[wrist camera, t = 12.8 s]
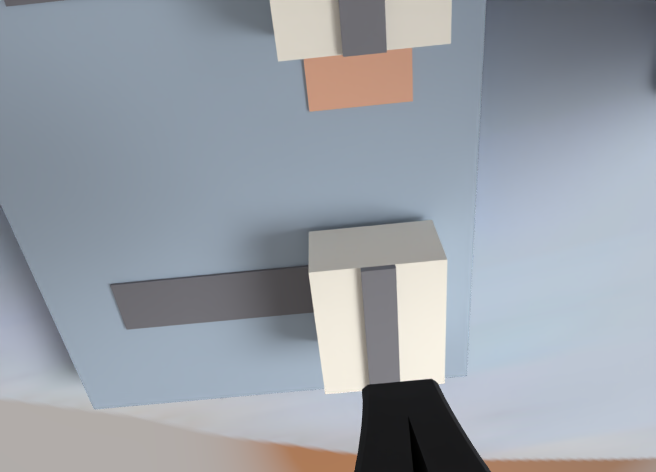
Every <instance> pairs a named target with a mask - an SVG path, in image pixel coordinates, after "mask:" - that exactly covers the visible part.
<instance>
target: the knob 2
mask: <svg viewBox="0 0 656 472" xmlns="http://www.w3.org/2000/svg"><path fill="white" fill-rule="evenodd" d="M309 280H310V287H311V294H312V302H313V309H314V316H315V323H316V331H317V338H318V345H319V353H320V360H321V367H322V374H323V382H324V389H325V394H334V393H345V392H356V391H362V389H363V388H364V387H365V386H367V385H369V384H379V383H390V382H401V381H412V380H422V379H433V380H435V381H436V382H437V383H438V384H445V346H446V302H447V257H446V254H445V252H444V249H443V247H442V244H441V242H440V239H439V236H438V234H437V231H436V229H435V226H434V223H433V221H432V220H425V221H415V222H404V223H394V224H383V225H373V226H363V227H352V228H342V229H332V230H321V231H311V232H309Z"/></svg>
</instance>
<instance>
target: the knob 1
mask: <svg viewBox="0 0 656 472" xmlns="http://www.w3.org/2000/svg"><path fill="white" fill-rule="evenodd" d="M270 7H271V14H272V21H273V29H274V36H275V43H276V50H277V57H278V62H279V61H289V60H298V59H308V58H318V57H327V56H337V55H343V57H348V56H358V55H367V54H377V53H387V50H395V49H404V48H414V47H424V46H433V45H443V44H451V17H452V0H270Z"/></svg>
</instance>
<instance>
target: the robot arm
mask: <svg viewBox="0 0 656 472" xmlns="http://www.w3.org/2000/svg"><path fill="white" fill-rule="evenodd" d="M362 397H363V411H362V426H361V434H360V442H359V449H358V455H357V460H356V466H355V471H354V472H491V471H490V470H489V468H488V467H487V465H486V464H485V462H484V461H483V460H482V458H481V457H480V455H479V454H478V452H477V451H476V449H475V448H474V446H473V445H472V443H471V441H470V440H469V438H468V437H467V435H466V433H465V432H464V430H463V428H462V427H461V425H460V424H459V422H458V420H457V419H456V417H455V415H454V413H453V412H452V410H451V408H450V406H449V404H448V403H447V401H446V399H445V397H444V395H443V393H442V391H441V389H440V387H439V385H438V383H437V382H436V381H435V380H433V379H422V380H412V381H401V382H390V383H379V384H369V385H367V386H365V387H364V388H363V389H362Z"/></svg>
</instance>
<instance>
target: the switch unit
mask: <svg viewBox="0 0 656 472" xmlns="http://www.w3.org/2000/svg"><path fill="white" fill-rule="evenodd" d="M485 15H486V0H452V17H451V44H443V45H433V46H424V47H414V48H404V49H395V50H387V53H377V54H367V55H358V56H348V57H343V55H337V56H327V57H318V58H308V59H298V60H289V61H279V62H278V57H277V50H276V43H275V36H274V29H273V21H272V14H271V7H270V0H0V205H1V207H2V209H3V211H4V213H5V215H6V218H7V220H8V222H9V224H10V226H11V229H12V231H13V233H14V235H15V237H16V240H17V242H18V244H19V246H20V248H21V250H22V253H23V255H24V257H25V259H26V261H27V264H28V266H29V268H30V270H31V272H32V275H33V277H34V279H35V281H36V283H37V285H38V288H39V290H40V292H41V294H42V296H43V299H44V301H45V303H46V305H47V307H48V309H49V312H50V314H51V316H52V318H53V320H54V323H55V325H56V327H57V329H58V331H59V334H60V336H61V338H62V340H63V342H64V344H65V347H66V349H67V351H68V353H69V355H70V358H71V360H72V362H73V364H74V366H75V369H76V371H77V373H78V375H79V377H80V379H81V382H82V384H83V386H84V388H85V390H86V393H87V395H88V397H89V399H90V401H91V403H92V406H93V408H94V409H104V408H115V407H126V406H138V405H149V404H160V403H171V402H182V401H194V400H205V399H216V398H227V397H238V396H250V395H261V394H272V393H283V392H294V391H305V390H317V389H324V382H323V374H322V367H321V360H320V353H319V345H318V338H317V331H316V323H315V316H314V309H313V302H312V294H311V287H310V280H309V232H311V231H321V230H332V229H342V228H352V227H363V226H373V225H383V224H394V223H404V222H415V221H425V220H432V221H433V223H434V226H435V229H436V231H437V234H438V236H439V239H440V242H441V244H442V247H443V249H444V252H445V254H446V257H447V302H446V346H445V378H451V377H462V376H467V365H468V346H469V326H470V307H471V287H472V268H473V249H474V229H475V210H476V190H477V171H478V151H479V132H480V113H481V93H482V74H483V54H484V35H485Z"/></svg>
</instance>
